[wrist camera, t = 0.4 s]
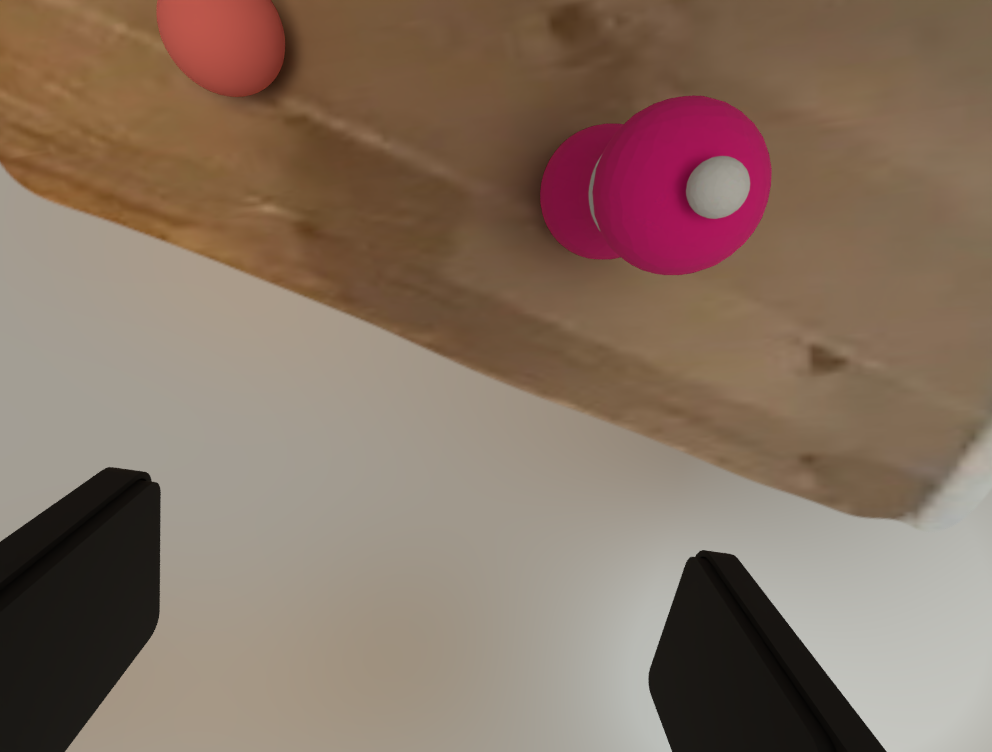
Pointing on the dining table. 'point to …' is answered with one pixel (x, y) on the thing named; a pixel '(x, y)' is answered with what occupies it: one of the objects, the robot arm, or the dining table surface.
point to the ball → (224, 42)
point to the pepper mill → (660, 186)
